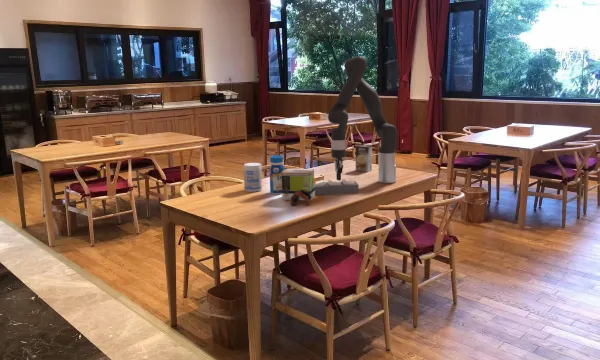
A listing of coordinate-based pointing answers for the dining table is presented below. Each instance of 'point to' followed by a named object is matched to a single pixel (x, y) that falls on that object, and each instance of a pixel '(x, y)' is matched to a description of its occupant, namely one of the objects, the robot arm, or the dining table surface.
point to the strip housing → (337, 189)
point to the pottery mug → (303, 195)
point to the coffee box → (363, 158)
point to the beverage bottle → (276, 174)
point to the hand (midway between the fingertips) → (338, 180)
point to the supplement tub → (252, 177)
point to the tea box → (297, 182)
